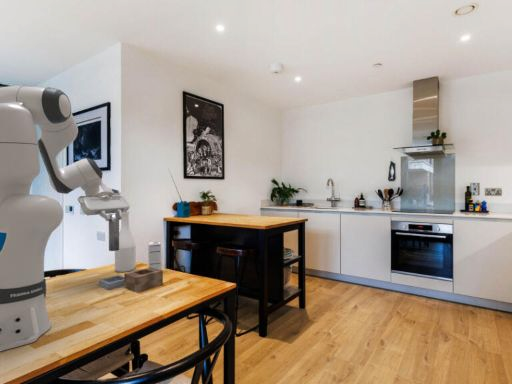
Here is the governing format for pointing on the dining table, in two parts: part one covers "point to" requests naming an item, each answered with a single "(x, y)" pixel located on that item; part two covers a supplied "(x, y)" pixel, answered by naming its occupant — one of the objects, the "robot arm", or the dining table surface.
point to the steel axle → (114, 232)
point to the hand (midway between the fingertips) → (115, 219)
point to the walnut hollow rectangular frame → (143, 279)
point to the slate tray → (111, 282)
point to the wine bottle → (125, 247)
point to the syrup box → (154, 255)
